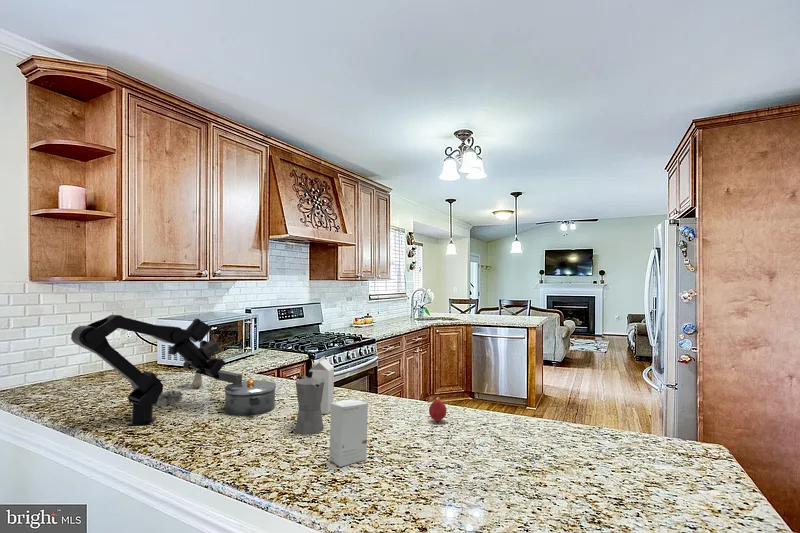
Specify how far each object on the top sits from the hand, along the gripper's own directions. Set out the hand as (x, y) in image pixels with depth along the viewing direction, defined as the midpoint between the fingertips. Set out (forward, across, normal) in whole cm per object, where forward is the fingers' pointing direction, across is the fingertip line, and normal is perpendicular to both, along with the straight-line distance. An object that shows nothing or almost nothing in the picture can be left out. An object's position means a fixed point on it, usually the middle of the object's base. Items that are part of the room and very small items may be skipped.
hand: (218, 377), depth 163 cm
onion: (+29, -77, -14) cm, 84 cm away
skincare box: (0, -74, +14) cm, 75 cm away
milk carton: (+19, -38, -4) cm, 42 cm away
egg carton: (0, +18, +14) cm, 23 cm away
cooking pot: (+9, -15, +4) cm, 18 cm away
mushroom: (+13, +28, +1) cm, 31 cm away
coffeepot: (+8, -47, +6) cm, 48 cm away
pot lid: (+4, -9, -1) cm, 10 cm away
